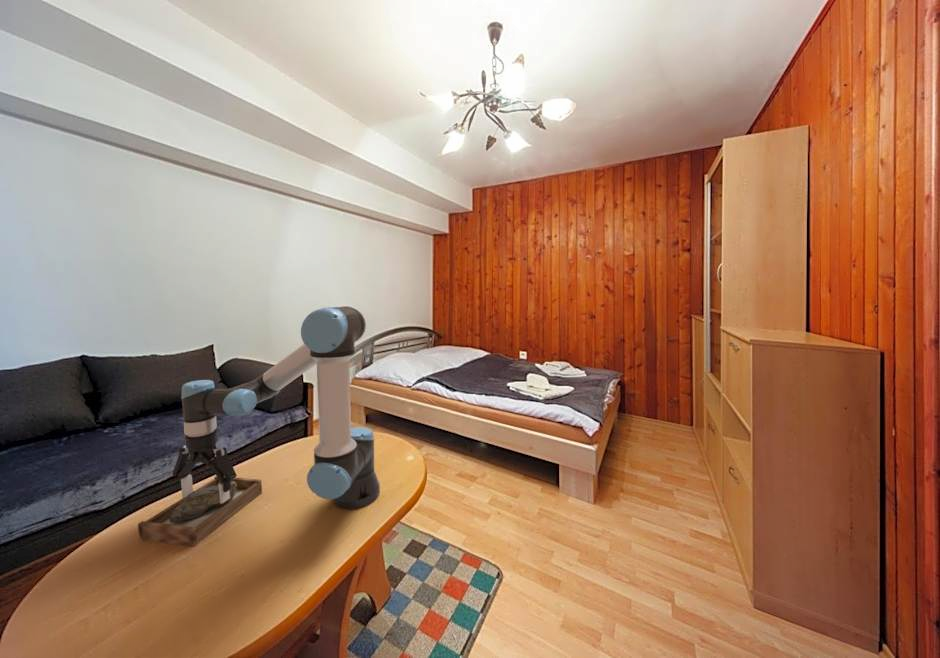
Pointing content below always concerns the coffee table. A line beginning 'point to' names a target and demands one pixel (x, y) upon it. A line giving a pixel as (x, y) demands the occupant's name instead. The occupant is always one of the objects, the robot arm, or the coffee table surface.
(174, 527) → the wooden tray
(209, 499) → the rock
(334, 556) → the coffee table surface
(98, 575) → the coffee table surface
